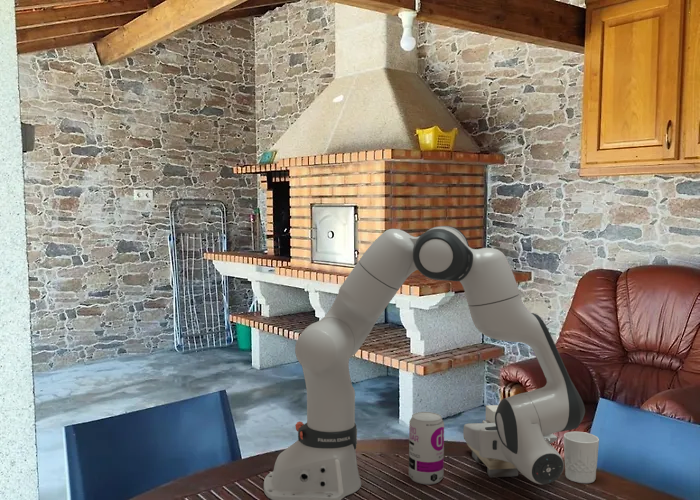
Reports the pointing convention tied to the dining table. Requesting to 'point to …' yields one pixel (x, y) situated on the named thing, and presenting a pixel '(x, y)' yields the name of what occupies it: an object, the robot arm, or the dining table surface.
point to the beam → (495, 465)
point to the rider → (491, 413)
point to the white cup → (580, 456)
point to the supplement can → (426, 448)
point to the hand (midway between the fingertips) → (495, 422)
